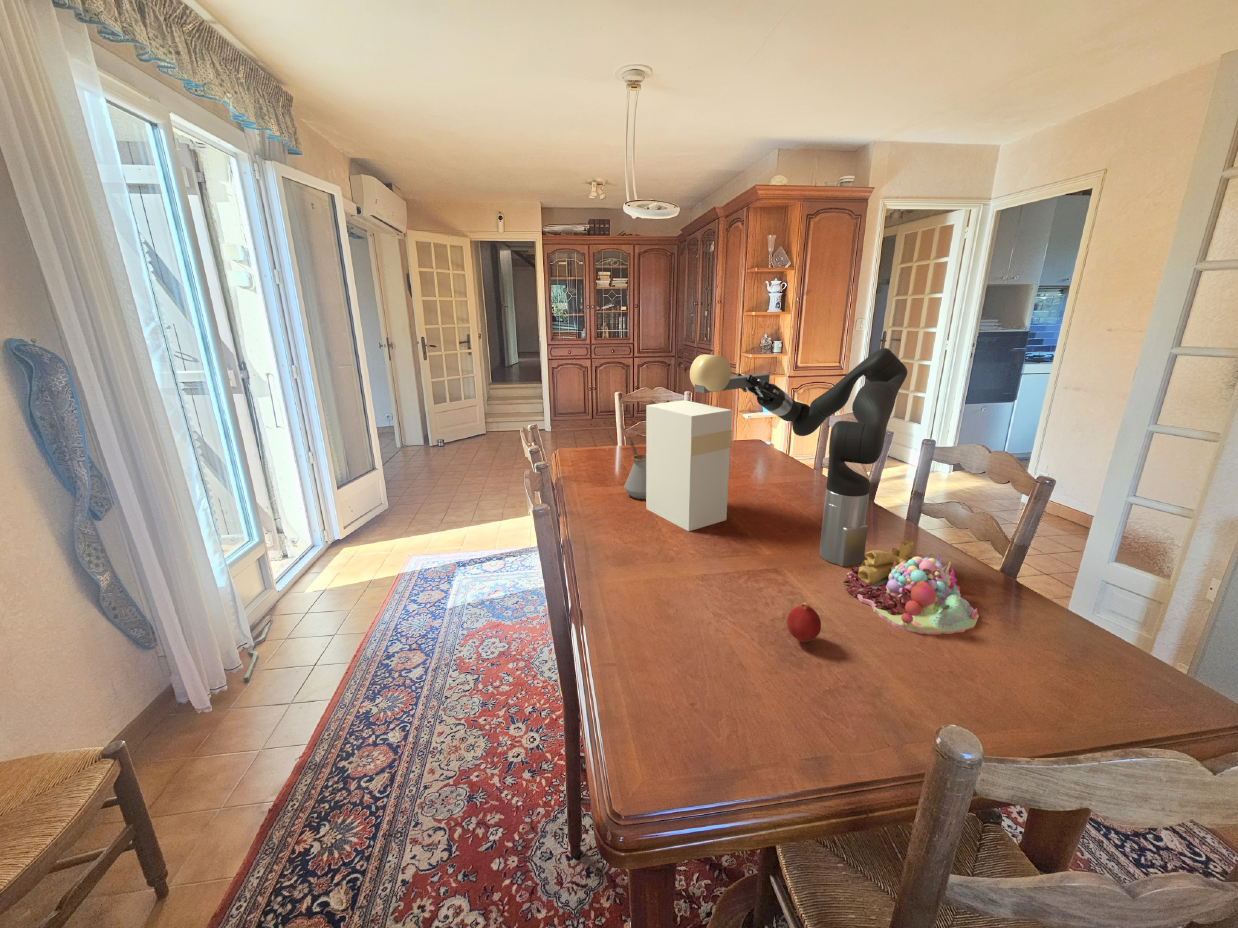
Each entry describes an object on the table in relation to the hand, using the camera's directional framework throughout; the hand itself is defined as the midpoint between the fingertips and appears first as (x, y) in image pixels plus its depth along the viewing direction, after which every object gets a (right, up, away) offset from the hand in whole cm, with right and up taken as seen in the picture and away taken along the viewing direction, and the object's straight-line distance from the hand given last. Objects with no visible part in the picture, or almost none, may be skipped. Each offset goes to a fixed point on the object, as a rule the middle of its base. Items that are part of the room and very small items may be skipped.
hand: (742, 376), depth 150 cm
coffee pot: (-30, -35, +22) cm, 51 cm away
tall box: (-17, -41, +1) cm, 44 cm away
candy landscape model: (+24, -54, -44) cm, 74 cm away
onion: (-3, -58, -57) cm, 82 cm away
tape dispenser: (-3, -3, -1) cm, 5 cm away
